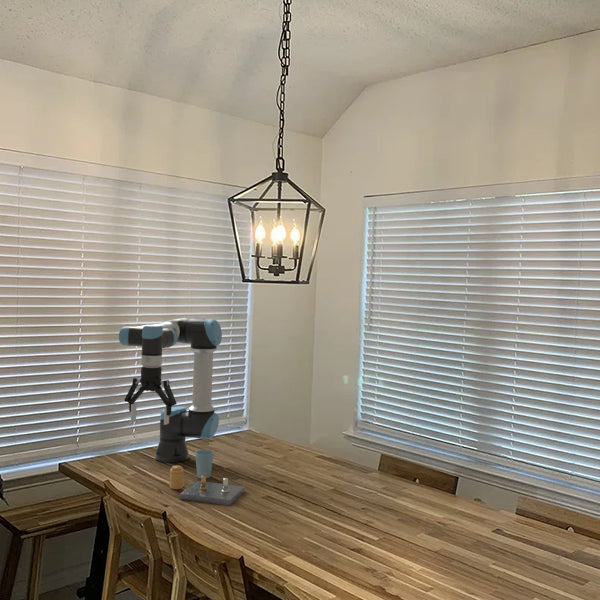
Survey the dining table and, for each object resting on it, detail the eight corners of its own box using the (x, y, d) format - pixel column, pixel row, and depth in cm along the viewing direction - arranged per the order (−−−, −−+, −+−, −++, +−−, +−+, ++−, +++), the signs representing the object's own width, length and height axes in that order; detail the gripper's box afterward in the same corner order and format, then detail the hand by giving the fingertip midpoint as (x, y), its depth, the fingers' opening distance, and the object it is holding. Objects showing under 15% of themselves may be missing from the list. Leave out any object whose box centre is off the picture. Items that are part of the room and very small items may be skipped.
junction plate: (196, 485, 251) (197, 468, 251) (244, 491, 246) (244, 473, 246) (179, 498, 235) (180, 480, 235) (230, 505, 230) (230, 486, 230)
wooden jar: (173, 484, 252) (173, 464, 251) (185, 485, 250) (185, 465, 250) (167, 488, 247) (168, 468, 246) (179, 489, 245) (180, 469, 245)
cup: (209, 472, 268) (209, 448, 268) (215, 478, 262) (216, 453, 261) (192, 475, 264) (192, 450, 264) (198, 480, 258) (199, 455, 257)
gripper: (116, 365, 235) (114, 421, 236) (177, 369, 229) (175, 427, 230) (126, 362, 242) (124, 417, 243) (186, 367, 236) (184, 423, 237)
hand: (149, 422), depth 236 cm, fingers open, 13 cm apart
